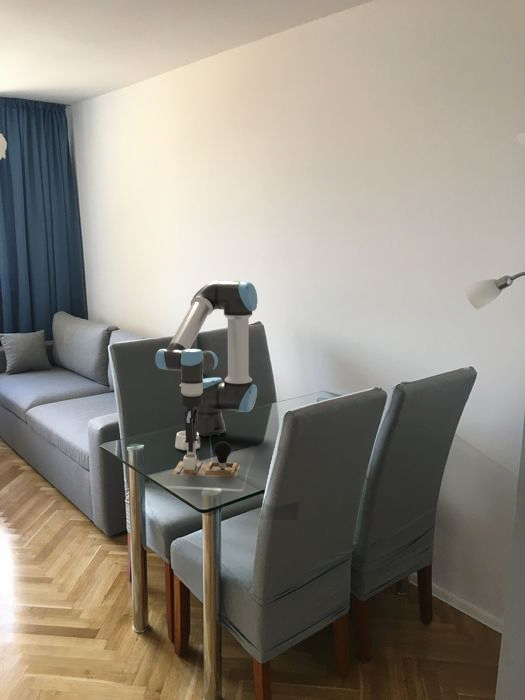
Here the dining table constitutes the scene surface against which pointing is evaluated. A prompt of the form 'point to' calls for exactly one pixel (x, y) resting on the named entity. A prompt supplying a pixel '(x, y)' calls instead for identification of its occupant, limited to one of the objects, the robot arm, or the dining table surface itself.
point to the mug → (181, 441)
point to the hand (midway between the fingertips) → (191, 459)
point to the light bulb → (222, 453)
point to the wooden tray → (209, 469)
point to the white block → (189, 462)
